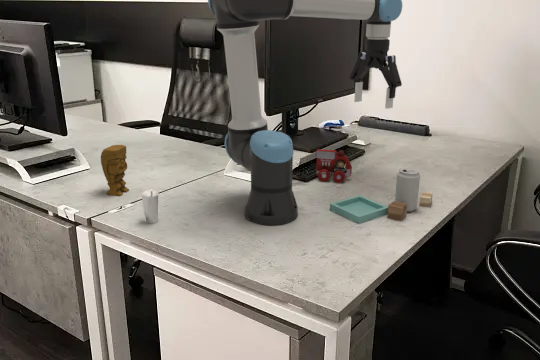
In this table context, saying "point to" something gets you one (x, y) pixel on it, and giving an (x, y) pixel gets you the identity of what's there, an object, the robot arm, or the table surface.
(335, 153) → the toy fire truck
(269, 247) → the table surface
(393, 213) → the walnut block
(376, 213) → the tray
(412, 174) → the beverage can
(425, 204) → the beech block
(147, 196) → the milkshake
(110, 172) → the figurine
